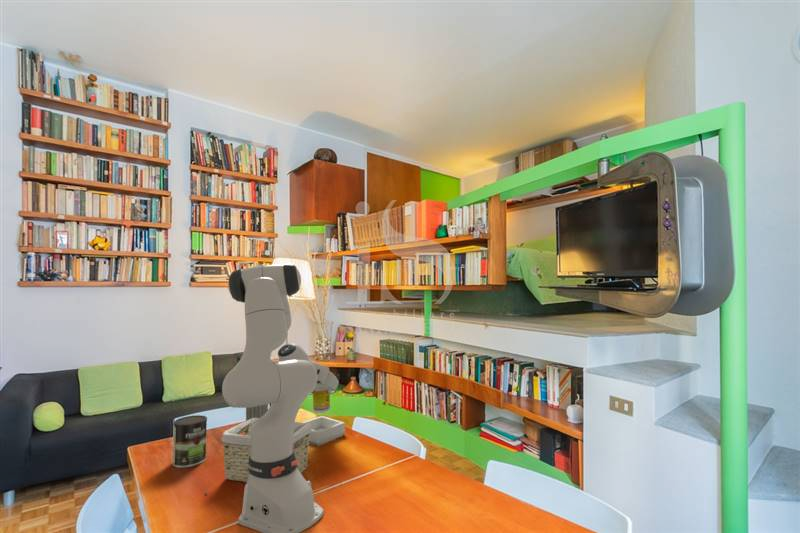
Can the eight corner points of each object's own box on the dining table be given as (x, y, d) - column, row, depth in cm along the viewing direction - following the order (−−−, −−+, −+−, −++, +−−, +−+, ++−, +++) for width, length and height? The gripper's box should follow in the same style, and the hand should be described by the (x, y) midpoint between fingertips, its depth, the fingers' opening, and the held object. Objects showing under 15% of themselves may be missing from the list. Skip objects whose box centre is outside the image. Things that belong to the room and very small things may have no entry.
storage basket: (218, 480, 122) (219, 432, 123) (252, 458, 137) (253, 416, 138) (284, 492, 115) (285, 440, 115) (313, 467, 130) (313, 422, 131)
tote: (344, 435, 158) (344, 422, 159) (317, 446, 147) (317, 432, 147) (321, 427, 167) (321, 415, 167) (294, 437, 156) (294, 425, 156)
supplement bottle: (328, 413, 156) (327, 380, 156) (311, 413, 156) (310, 381, 156) (331, 407, 162) (330, 376, 163) (315, 407, 162) (314, 376, 163)
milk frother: (259, 440, 154) (260, 402, 154) (225, 437, 157) (226, 399, 158) (279, 428, 167) (280, 392, 168) (247, 425, 171) (248, 390, 172)
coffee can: (211, 459, 136) (212, 418, 137) (180, 470, 128) (181, 427, 129) (197, 452, 143) (198, 413, 143) (167, 462, 134) (168, 420, 135)
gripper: (281, 378, 153) (297, 396, 161) (325, 381, 145) (340, 400, 154) (288, 364, 157) (303, 382, 166) (331, 366, 149) (345, 385, 158)
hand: (321, 391), depth 160 cm, fingers closed on supplement bottle, 7 cm apart
